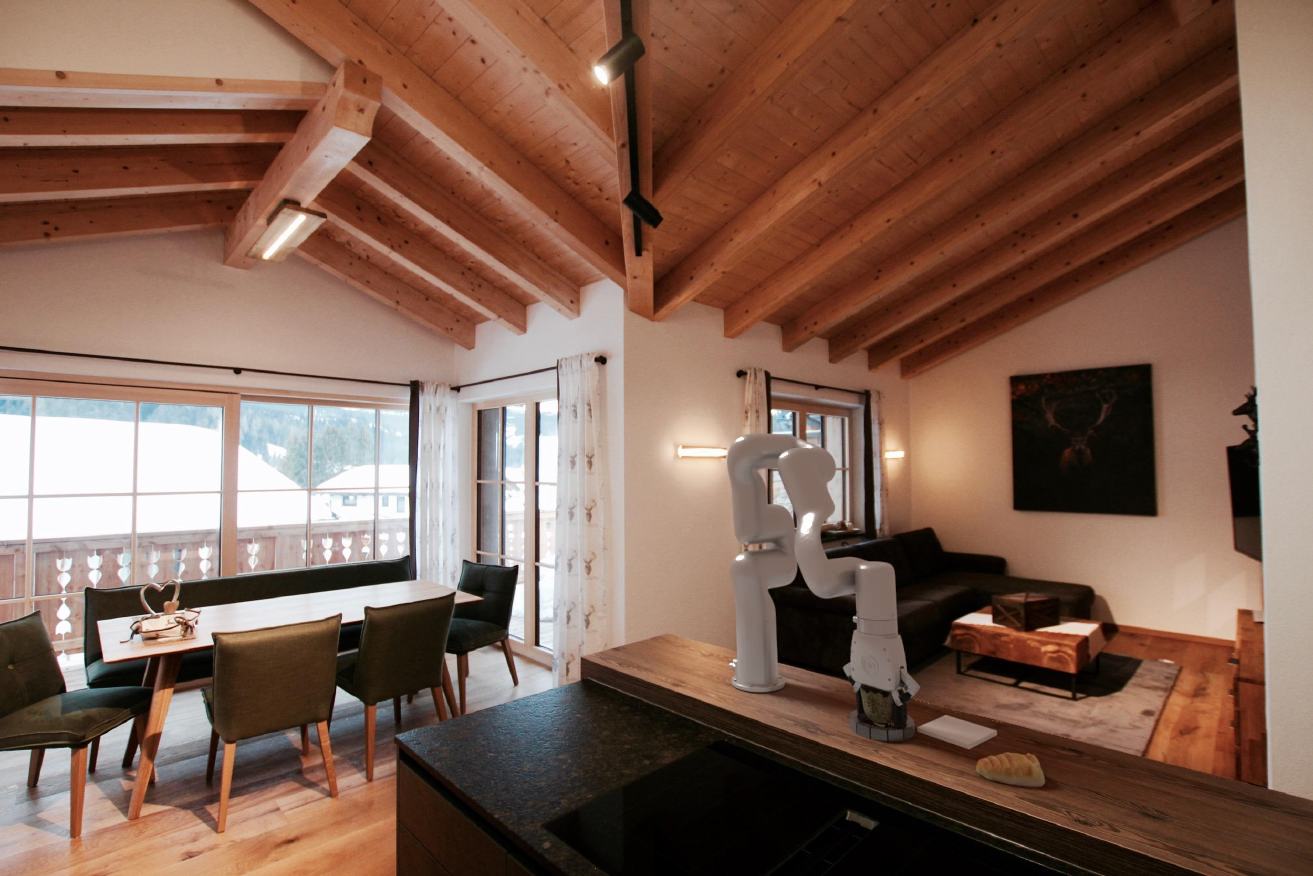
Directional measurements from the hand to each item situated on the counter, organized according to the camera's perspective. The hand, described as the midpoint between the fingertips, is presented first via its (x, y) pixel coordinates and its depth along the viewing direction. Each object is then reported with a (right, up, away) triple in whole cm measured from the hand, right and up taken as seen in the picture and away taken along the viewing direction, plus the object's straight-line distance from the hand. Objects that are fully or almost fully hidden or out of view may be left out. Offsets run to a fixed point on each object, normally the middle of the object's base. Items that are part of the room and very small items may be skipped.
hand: (881, 717), depth 121 cm
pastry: (+14, -1, -21) cm, 25 cm away
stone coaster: (+13, -2, -3) cm, 14 cm away
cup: (0, -2, 0) cm, 2 cm away
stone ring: (0, -2, 0) cm, 2 cm away
